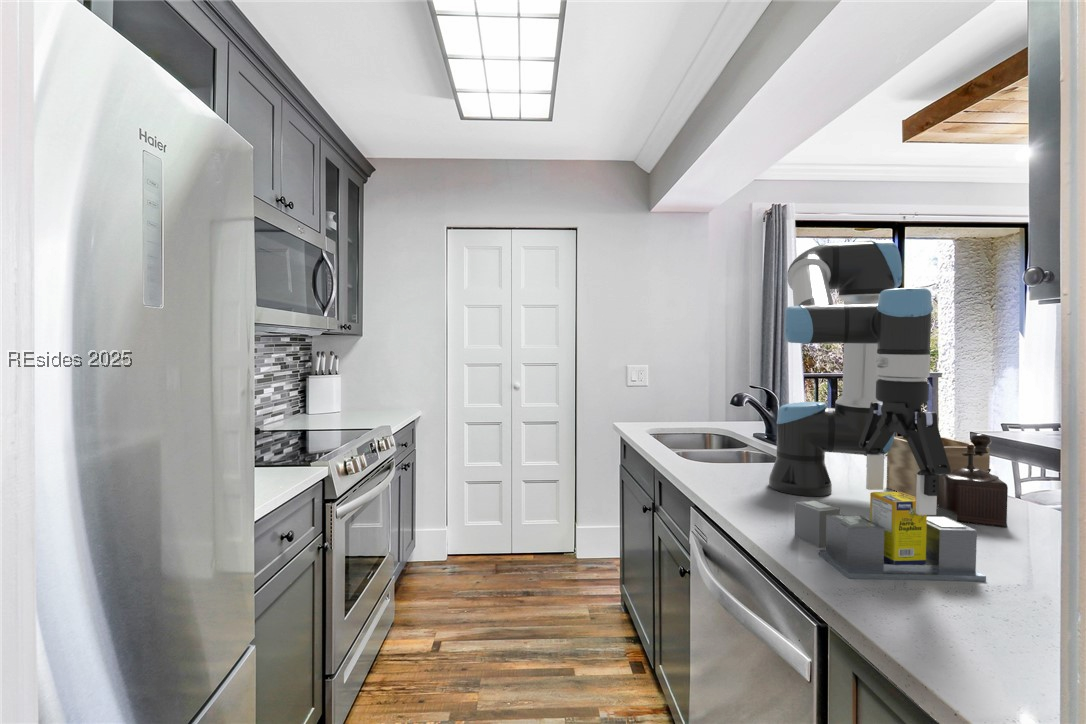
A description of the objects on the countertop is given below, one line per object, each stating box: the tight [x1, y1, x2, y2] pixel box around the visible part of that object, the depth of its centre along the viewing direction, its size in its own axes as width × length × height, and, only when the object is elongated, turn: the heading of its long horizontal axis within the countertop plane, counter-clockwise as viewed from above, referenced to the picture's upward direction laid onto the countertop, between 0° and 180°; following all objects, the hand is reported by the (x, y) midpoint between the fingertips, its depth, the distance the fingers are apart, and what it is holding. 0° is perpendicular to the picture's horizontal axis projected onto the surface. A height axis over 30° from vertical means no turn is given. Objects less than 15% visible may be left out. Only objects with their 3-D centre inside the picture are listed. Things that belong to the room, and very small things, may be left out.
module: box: [793, 499, 841, 548], centre depth 102 cm, size 6×5×7 cm
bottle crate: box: [886, 436, 991, 505], centre depth 134 cm, size 15×15×14 cm
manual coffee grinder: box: [937, 433, 1009, 528], centre depth 119 cm, size 16×11×18 cm
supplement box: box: [869, 491, 927, 565], centre depth 90 cm, size 6×6×11 cm
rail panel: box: [818, 514, 987, 582], centre depth 90 cm, size 10×22×8 cm, turn 88°
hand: (898, 500), depth 90 cm, fingers open, 13 cm apart
